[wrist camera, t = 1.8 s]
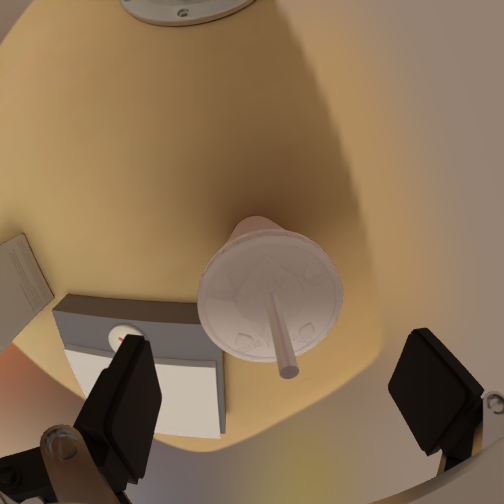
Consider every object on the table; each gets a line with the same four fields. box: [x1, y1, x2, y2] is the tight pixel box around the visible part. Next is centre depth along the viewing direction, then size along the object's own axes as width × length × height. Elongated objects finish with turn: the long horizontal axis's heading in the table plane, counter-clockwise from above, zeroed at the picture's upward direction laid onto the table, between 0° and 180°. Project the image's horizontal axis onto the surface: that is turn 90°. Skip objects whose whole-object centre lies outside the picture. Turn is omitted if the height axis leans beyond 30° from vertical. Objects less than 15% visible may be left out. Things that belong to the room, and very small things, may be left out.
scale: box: [52, 294, 226, 438], centre depth 22 cm, size 15×15×4 cm
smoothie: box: [197, 216, 343, 379], centre depth 14 cm, size 6×6×14 cm
